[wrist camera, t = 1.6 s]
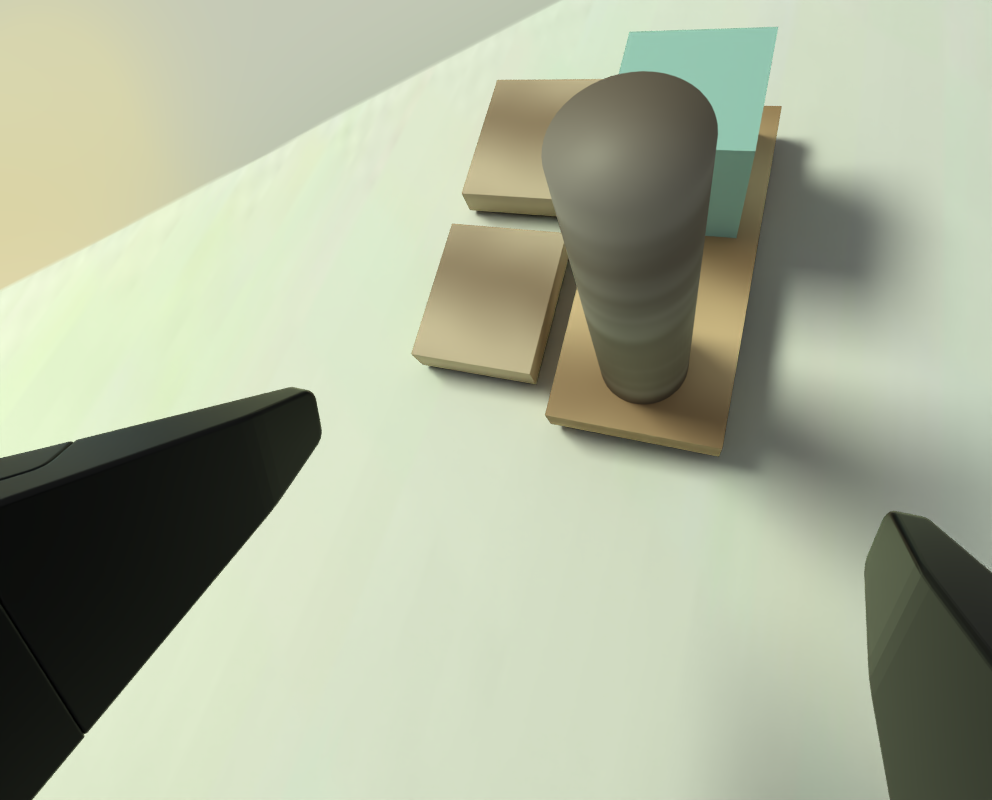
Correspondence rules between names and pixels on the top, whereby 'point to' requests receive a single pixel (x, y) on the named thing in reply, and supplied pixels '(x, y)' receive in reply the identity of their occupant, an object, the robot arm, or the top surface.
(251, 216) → the top surface
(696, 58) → the cube
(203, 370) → the top surface
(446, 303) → the beige rectangular block
